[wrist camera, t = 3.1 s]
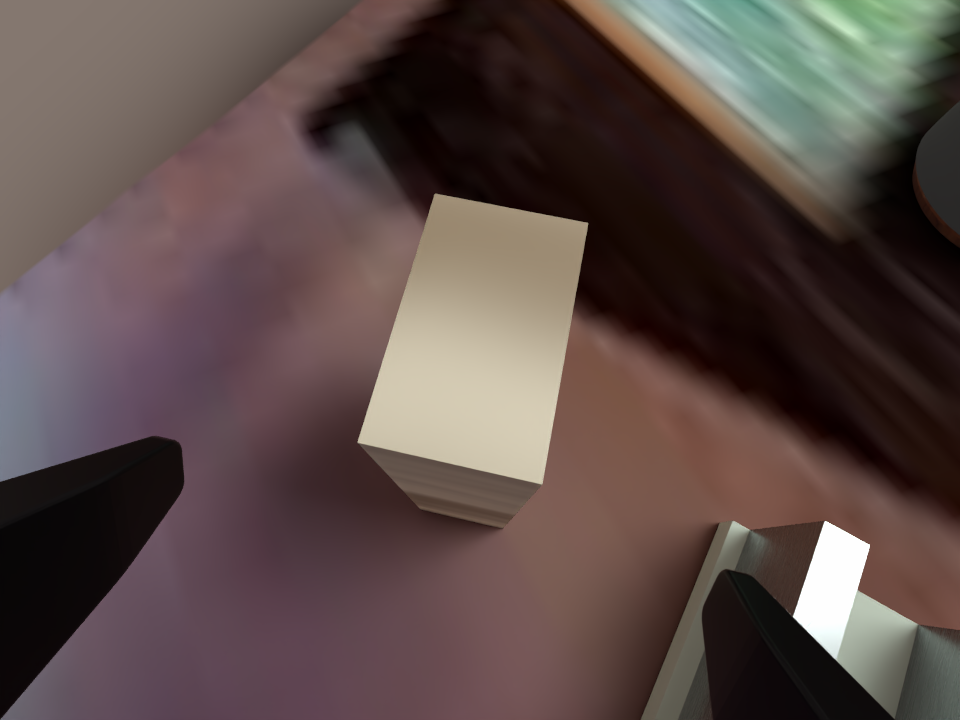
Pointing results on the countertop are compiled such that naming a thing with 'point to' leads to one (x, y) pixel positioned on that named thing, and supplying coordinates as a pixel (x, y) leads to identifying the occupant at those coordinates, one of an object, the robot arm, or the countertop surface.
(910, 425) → the countertop surface
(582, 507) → the countertop surface
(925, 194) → the mug
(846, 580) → the grey channel bracket
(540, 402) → the ash slab
